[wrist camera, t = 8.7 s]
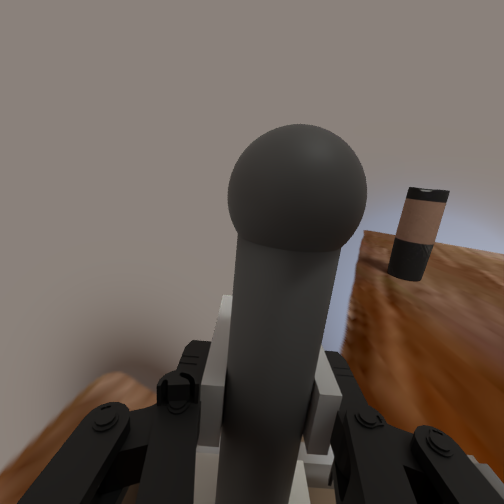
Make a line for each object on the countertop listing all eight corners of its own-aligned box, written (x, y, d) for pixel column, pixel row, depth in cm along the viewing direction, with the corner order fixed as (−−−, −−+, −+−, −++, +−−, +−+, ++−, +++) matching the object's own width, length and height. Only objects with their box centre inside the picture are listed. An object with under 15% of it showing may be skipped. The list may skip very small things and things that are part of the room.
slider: (296, 490, 15) (370, 146, 10) (316, 637, 10) (488, 118, 5) (194, 482, 15) (211, 129, 9) (166, 629, 10) (167, 82, 5)
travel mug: (408, 270, 64) (431, 189, 59) (430, 282, 57) (460, 191, 51) (379, 268, 64) (400, 186, 58) (398, 280, 56) (425, 188, 51)
